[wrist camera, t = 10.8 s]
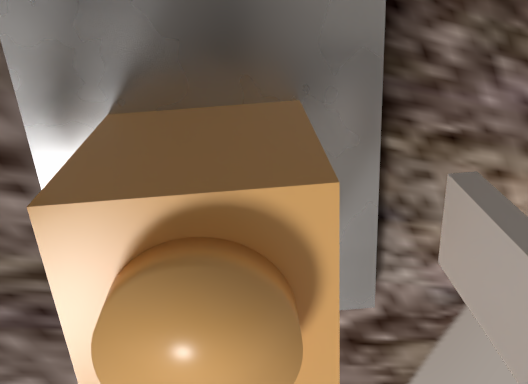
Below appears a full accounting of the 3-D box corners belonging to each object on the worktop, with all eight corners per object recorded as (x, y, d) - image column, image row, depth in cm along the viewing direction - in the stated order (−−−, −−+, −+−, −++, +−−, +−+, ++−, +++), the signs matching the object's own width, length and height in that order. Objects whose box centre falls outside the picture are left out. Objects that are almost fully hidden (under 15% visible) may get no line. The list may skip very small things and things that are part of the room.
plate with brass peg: (-6, -52, 15) (-167, -64, 9) (378, -78, 16) (469, -107, 9) (88, 313, 21) (28, 453, 15) (367, 289, 21) (419, 418, 15)
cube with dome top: (107, 114, 16) (1, 236, 9) (299, 100, 17) (352, 208, 9) (139, 275, 19) (78, 473, 12) (304, 262, 19) (349, 448, 12)
